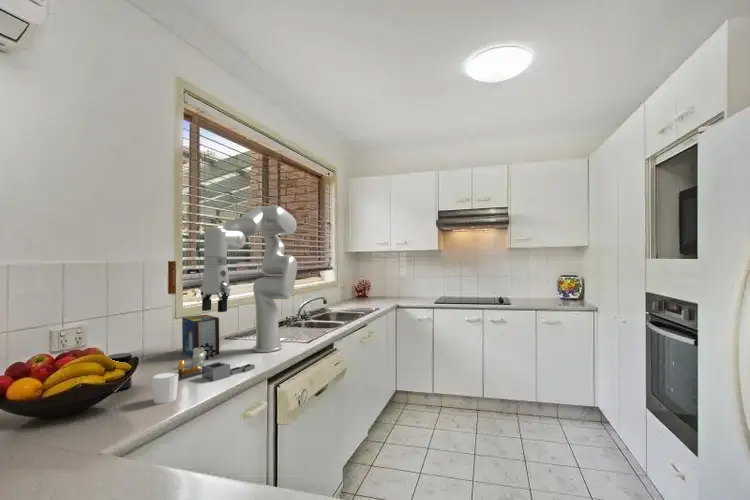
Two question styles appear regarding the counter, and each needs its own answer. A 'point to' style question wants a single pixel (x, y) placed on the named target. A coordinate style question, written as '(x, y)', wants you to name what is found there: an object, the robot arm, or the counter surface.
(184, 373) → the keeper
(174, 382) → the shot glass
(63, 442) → the counter surface
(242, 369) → the chain tail
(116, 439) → the counter surface
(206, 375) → the end link
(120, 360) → the supplement container
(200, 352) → the valve
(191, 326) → the protein box
